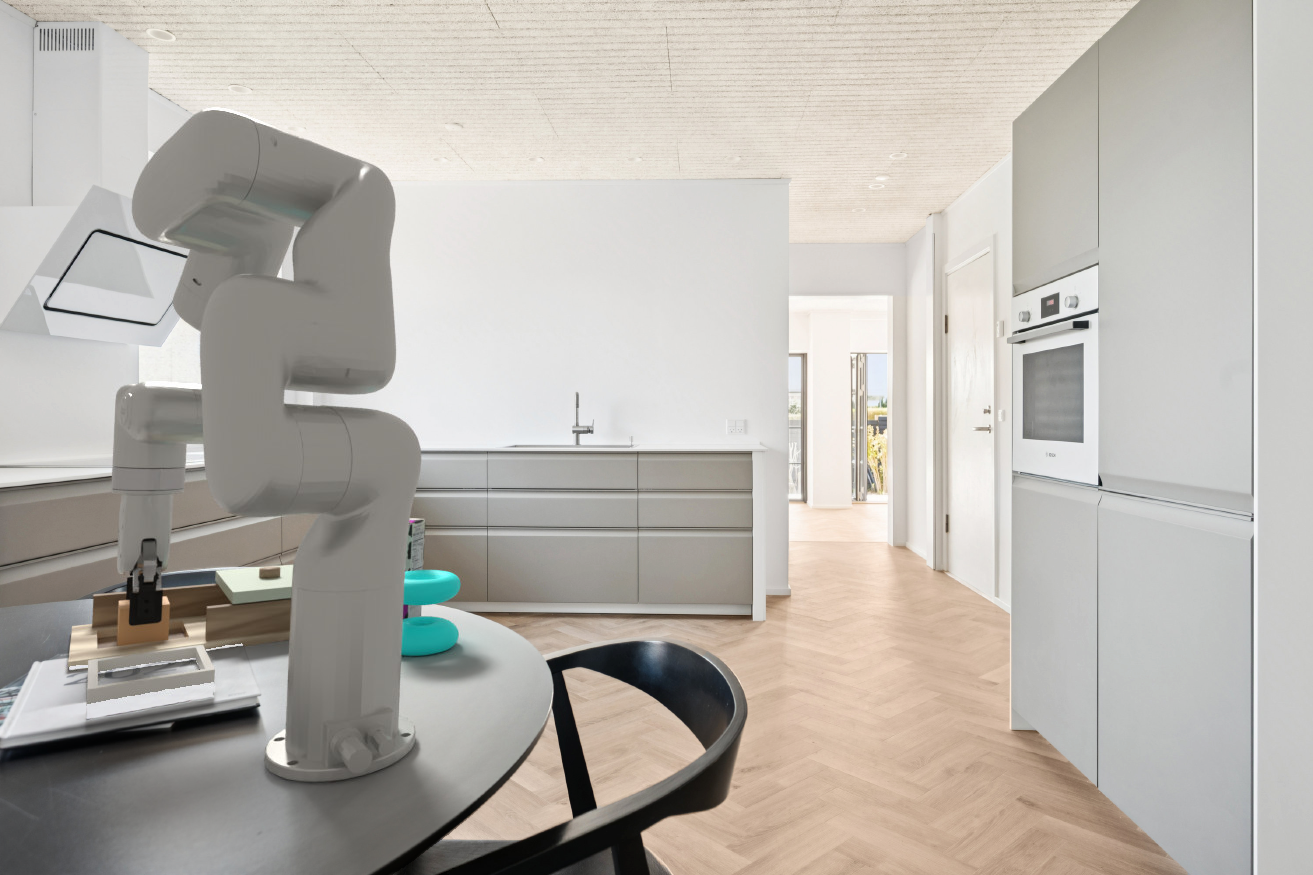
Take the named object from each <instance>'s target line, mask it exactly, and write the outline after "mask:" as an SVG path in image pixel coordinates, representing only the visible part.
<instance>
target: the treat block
mask: <svg viewBox="0 0 1313 875" xmlns="http://www.w3.org/2000/svg"><path fill="white" fill-rule="evenodd" d="M129 604H130V600H123V601H119V605H118V628H117V645H118V646H123V645H131V644H139V643H147V642H154V641H162V640H168V636H169V612H170V603H169V601H168V598H167V596H165V597H163V600H162V620H161V621H160V622H159V623H153V624H144V625H135V626H131V625H129Z"/></svg>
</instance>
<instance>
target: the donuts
mask: <svg viewBox="0 0 1313 875" xmlns="http://www.w3.org/2000/svg"><path fill="white" fill-rule="evenodd" d="M461 585H462V584H461V580H460V578H459V577H458V575H456V574H455V573H453V572H451V571H446V570H438V569H423V570H414V571H405V580H404V600H403V604H405V605H421V606H430V605H437V604H441V603H444V602H448V601H450V600H451V599H452V598H454V597H456V595H457V594H458V593H459V592H460V589H461V587H462V586H461ZM458 629H459V628H458V627H457V626H456V625H455V624H454V623H453V622H452V621H450V620H449V619H446V618H444V617H439V616H431V615H430V616H429V615H428V616H427V615H424V616H422V615H421V616H420V617H411V618H406V619H403V625H402V649H401V656H409V657H415V656H417V657H418V656H419V657H420V656H430V655H434V654H439V653H441V652H445V651H447V650H449V649H451V648H452V647H454V646H455V645H456V643H458V639H459V634H460V633H459V630H458Z"/></svg>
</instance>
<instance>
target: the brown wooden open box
mask: <svg viewBox="0 0 1313 875" xmlns="http://www.w3.org/2000/svg"><path fill="white" fill-rule="evenodd" d="M162 589H163V597H165V596H167V598H168V601H169V603H170V612H169V636H168V640H162V641H154V642H147V643H139V644H131V645H123V646H118V645H117V628H118V605H119V601H123V600H126V591H118V592H107V593H96V594H95V593H94V594H93V595H92V596H93V597H92V598H93V599H92V617H91V618H92V621H91V624H80V625H79V624H78V625H72V626H71V636H70V644H69V653H68V661H67V662H68V663H67V664H68V665H67V668H68V667H70V666H76V665H88V660H93V659H100V658H108V657H115V656H122V655H130V654H137V653H144V652H152V651H159V650H166V649H174V648H181V647H188V646H196V645H203V646H204V648H205V650H206V649H211V648H216V647H222V646H225V645H235V644H241V643H242V644H243V647H249V646H255V645H262V644H263V645H264V644H270V643H275V642H276V643H278V642H283V641H289V637H290V613H291V598H285V599H276V600H267V601H257V602H248V603H239V604H232V603H231V601H230V600H229V599H228V597H227V596H226V595H225V593H224V592H223V591H222V589H221V588H220V587H219V585H218V584H217V583H208V584H207V583H206V584H195V585H194V584H193V585H184V586H176V587H175V586H171V587H161V590H162Z"/></svg>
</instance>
